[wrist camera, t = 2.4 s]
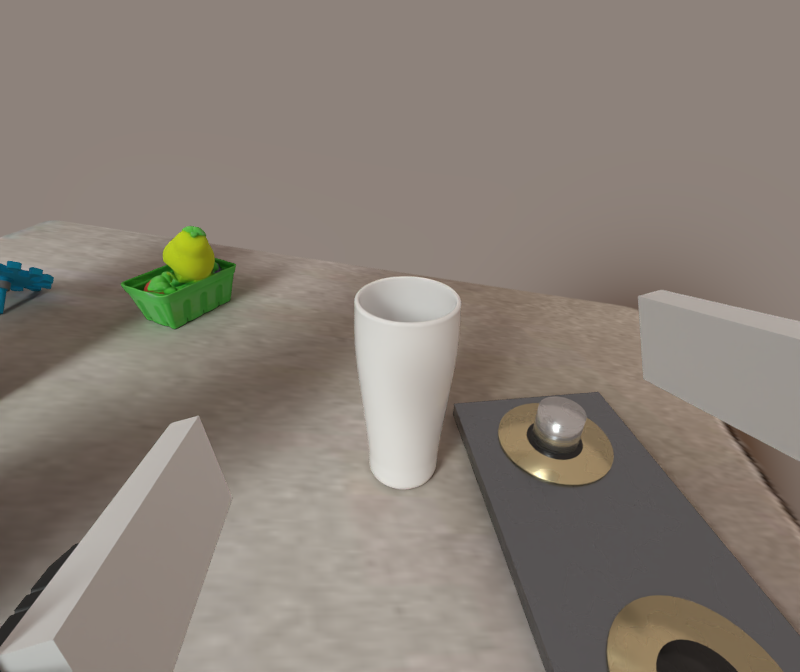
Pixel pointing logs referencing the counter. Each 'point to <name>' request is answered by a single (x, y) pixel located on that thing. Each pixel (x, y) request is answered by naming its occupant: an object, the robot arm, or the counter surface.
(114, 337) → the counter surface
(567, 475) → the bolt plate
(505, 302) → the counter surface
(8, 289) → the blue plastic t-shaped piece
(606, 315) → the counter surface
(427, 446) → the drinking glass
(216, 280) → the fruit basket
